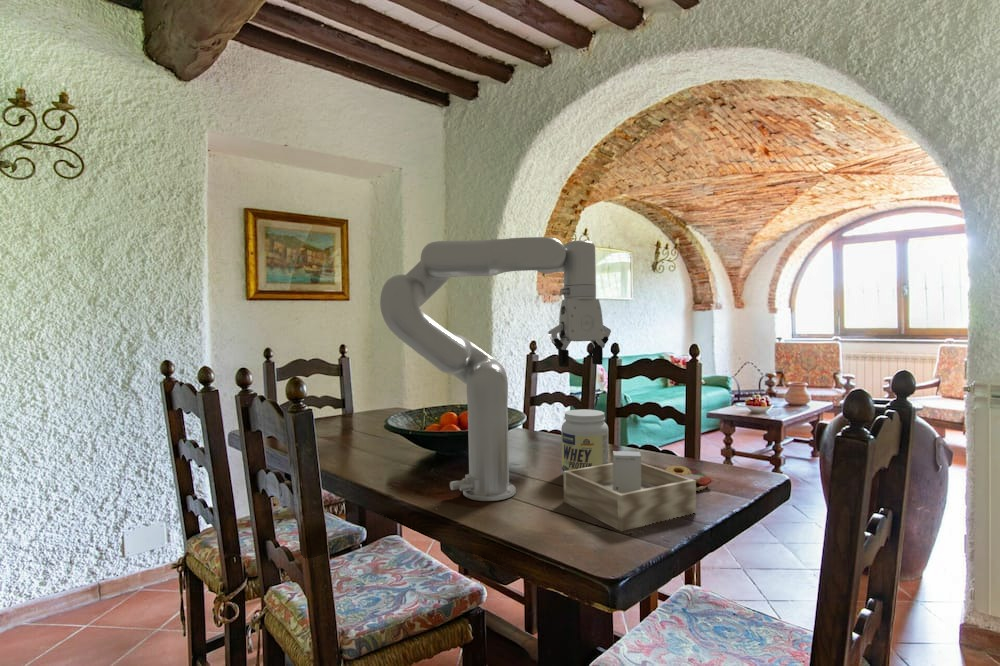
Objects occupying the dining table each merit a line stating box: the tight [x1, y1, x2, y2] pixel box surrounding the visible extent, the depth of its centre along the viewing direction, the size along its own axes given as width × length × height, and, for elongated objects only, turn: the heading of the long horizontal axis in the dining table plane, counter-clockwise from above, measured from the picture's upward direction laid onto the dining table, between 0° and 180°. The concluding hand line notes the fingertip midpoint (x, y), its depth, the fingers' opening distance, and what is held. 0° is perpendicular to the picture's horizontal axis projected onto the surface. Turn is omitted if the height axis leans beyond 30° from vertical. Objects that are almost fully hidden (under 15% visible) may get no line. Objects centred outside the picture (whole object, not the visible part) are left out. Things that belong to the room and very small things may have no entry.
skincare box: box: [612, 450, 642, 493], centre depth 121 cm, size 6×4×12 cm
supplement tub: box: [560, 409, 609, 477], centre depth 145 cm, size 12×12×17 cm
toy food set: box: [664, 465, 712, 492], centre depth 137 cm, size 13×13×3 cm
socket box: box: [563, 462, 697, 532], centre depth 121 cm, size 20×20×7 cm
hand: (580, 365), depth 132 cm, fingers open, 9 cm apart
